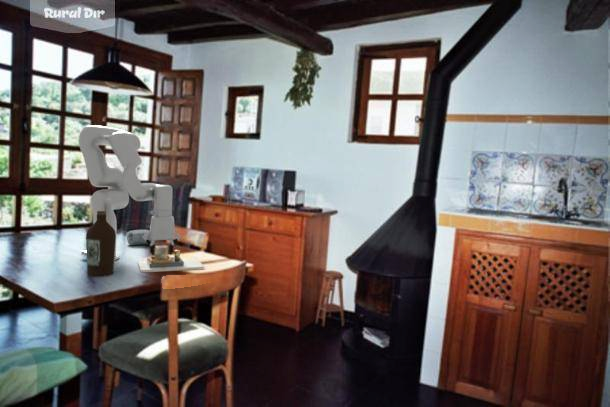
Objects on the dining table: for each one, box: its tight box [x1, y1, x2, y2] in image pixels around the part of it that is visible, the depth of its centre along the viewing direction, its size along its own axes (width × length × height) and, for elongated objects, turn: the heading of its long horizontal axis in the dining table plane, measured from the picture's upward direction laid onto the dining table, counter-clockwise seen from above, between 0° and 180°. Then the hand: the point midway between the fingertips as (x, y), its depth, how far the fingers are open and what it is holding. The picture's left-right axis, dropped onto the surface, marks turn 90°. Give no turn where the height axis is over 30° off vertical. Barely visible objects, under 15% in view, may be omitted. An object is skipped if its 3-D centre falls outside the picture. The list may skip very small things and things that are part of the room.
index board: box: [136, 258, 205, 273], centre depth 186 cm, size 26×16×1 cm, turn 116°
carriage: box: [146, 249, 184, 267], centre depth 185 cm, size 14×10×6 cm
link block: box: [154, 245, 169, 260], centre depth 184 cm, size 5×5×6 cm
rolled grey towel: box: [126, 229, 151, 246], centre depth 227 cm, size 14×10×10 cm
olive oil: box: [85, 211, 117, 277], centre depth 167 cm, size 11×11×25 cm
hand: (161, 253), depth 184 cm, fingers open, 6 cm apart
